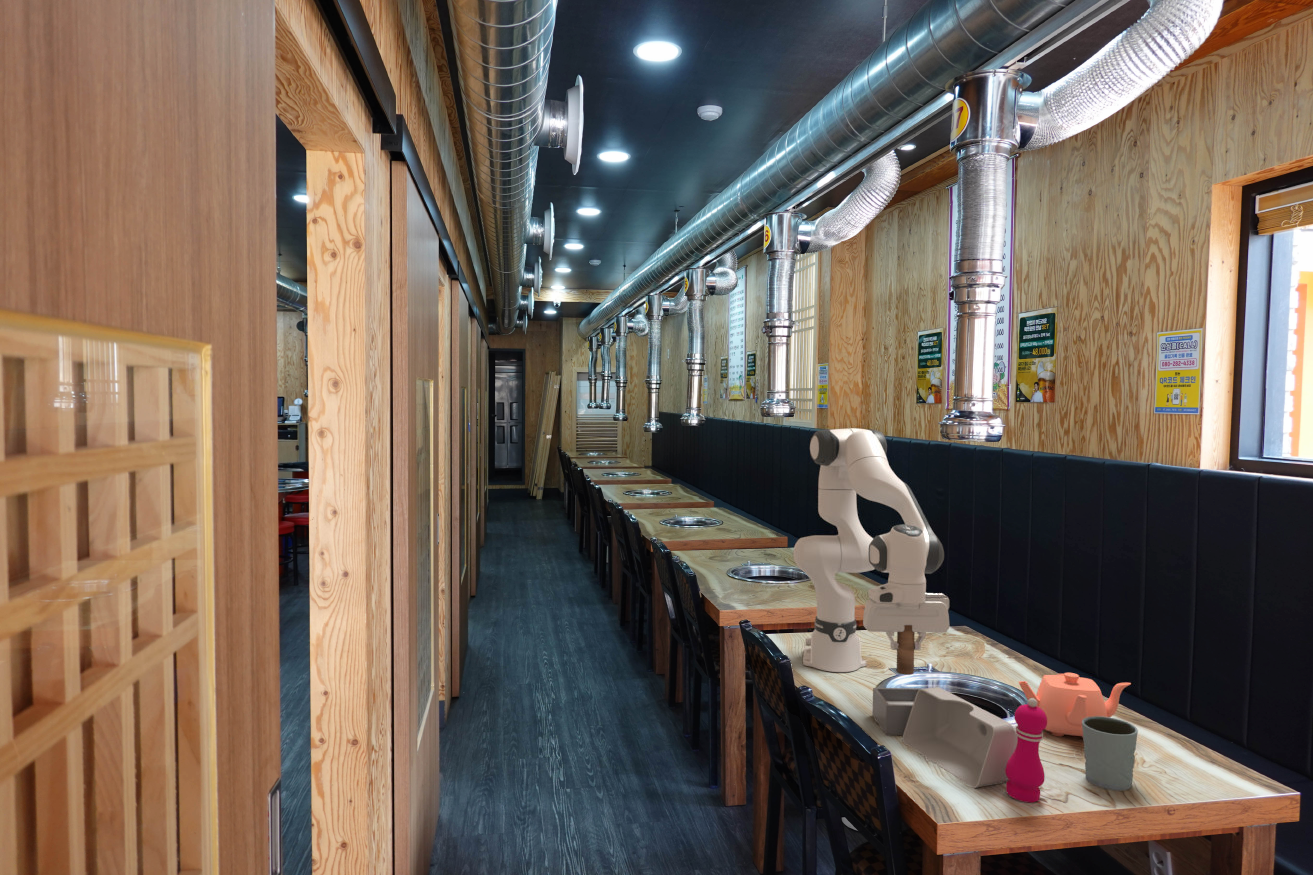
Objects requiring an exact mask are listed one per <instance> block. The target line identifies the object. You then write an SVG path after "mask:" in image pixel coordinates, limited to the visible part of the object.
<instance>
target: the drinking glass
mask: <svg viewBox="0 0 1313 875" xmlns="http://www.w3.org/2000/svg"><path fill="white" fill-rule="evenodd" d="M1082 729H1083V738H1082V739H1083V744H1084V746H1083V751H1084V754H1083V755H1084V759H1085V762H1084V766H1085V767H1084V769H1085V771H1084V772H1085V779H1086V780H1087V781H1088V783H1091V784H1092V785H1094V786H1096V787H1099V788H1102V789H1105V790H1110V791H1119V792H1120V791H1123V792H1124V791H1127V790H1129V789H1132V787H1133V777H1134V774H1133V773H1134V767H1135V758H1136V757H1135V752H1136V749H1137V740H1138V731H1139V730H1138V728H1137V727H1136V726H1135V725H1134V724H1132V723H1130V722H1128V721H1127V720H1126V721H1125V720H1122V719H1119V718H1114V717H1103V716H1092V717H1087V718H1084V719H1083V720H1082Z"/></svg>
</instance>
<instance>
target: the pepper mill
mask: <svg viewBox="0 0 1313 875" xmlns="http://www.w3.org/2000/svg"><path fill="white" fill-rule="evenodd" d="M1013 719H1014V721H1015V723H1016V725H1017V726H1015V731H1016V732H1015V733H1016V735H1017V737H1018V741H1017V746H1016V749H1015V751H1014V753H1013V754H1012V756H1011V757H1010V758H1009V760H1008V762H1007V764H1006V769H1005V773H1006V776H1007V777H1008V779H1009V780H1008V781H1007V782H1005V784H1006V785H1005V791H1006V793H1007V795H1008V796H1009V797H1011V798H1013V799H1015V800H1017V801H1020V802H1024V803H1037V802H1039V801H1040V798H1041V789H1040V787H1041V786H1042V785H1043V784H1044V782H1045V770H1044V766H1043V764H1042V761H1041V757H1040V752H1039V751H1040V750H1039V748H1040V742H1041V741H1043V738H1044V737H1043V736H1044V732H1043V731H1044V730H1045V728H1046V726H1047V716H1046V714H1045V712H1044V711H1043V710H1042V709H1041V708H1039V707H1037V700H1036V699H1034V698H1030V699H1029V700H1028V699H1027V704H1025V703H1024V704H1021V705H1019V706H1017V708H1016V710H1015V712H1014V718H1013ZM1036 801H1037V802H1036Z"/></svg>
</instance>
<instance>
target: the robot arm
mask: <svg viewBox="0 0 1313 875" xmlns="http://www.w3.org/2000/svg"><path fill="white" fill-rule="evenodd" d="M809 451H810V452H809V453H810V457H811V459H812V460H813V461H814V463H815V464H817V465H820V468H819V473H818V474H819V475H818V485H817V486H818V492H817V493H818V496H817V498H818V500H817V501H818V503H817V505H818V506H817V508H818V509H817V510H818V514H819V517H820V518H822V519H823V520H824V521H826V522H827V523H829V524H831V525H832V526H835V527H836V528H837V532H838V534H836V535H829V534H828V535H826V534H825V535H824V534H823V535H820V534H819V535H816V534H815V535H809V536H804V537H800V538H799V539H797V541H796V542H795V545H794V547H793V552H792V554H793V555H792V556H793V560H794V563H795V565H796V566H797V567H798V569H800V570H801V571H803V573H804V574H806V576H807V577H808V578H809V580H810V581H811V583H812V585H813V587H814V590H815V596H816V616H815V619H814V630H813V631H812V632H811V634H810V637H806V638H805V647H804V648H803V652H802V653H803V656H802V665H804V666H807V667H811V668H812V667H813V668H814V669H818V670H821V671H825V672H833V673H849V672H853V671H856V670H859V669H860V668H863V667H866V666H867V661H865V660H864V659H863V658H862V642H861V638H860V636H859V635H857V633H856V632H857V631H856V630H857V619H856V618H855V615H856V614H855V612H856V611H855V608H856V596H855V593H854V591H853V590H852V589H851V588H850V587H848V586H847V585H845V584H843V583H841V582H839V581H837V580H836V574H838V573H842V574H843V573H847V574H849V573H853V574H857V573H859V574H860V573H864V572H870V571H873V570H876V571H877V572H881V573H888V579H887V582H886V583H885V584H881V585H877V586H874V587H871V588H869V589H868V592H867V594H868V597H869V599H867V600H866V603H865V605H864V609H863V620H862V622H863V623H862V624H863V627H864V628H865V629H866V630H867V631H868V632H871V633H873V632H877V633H878V632H879V633H885V635H886V636H887V638H888V640H889V641H890V649H891V650H892V651H895V650H896V651H897V650H898V649H899V648H898V646H899V643H898V642H897V640H895V639H894V638H893V637H895V633H897V632H903V631H904V625H912V631H913V632H915V633H916V634H917V635H918V636H917V638H916V640H914V651H921V649H922V643H923V641H925V638H926V635H927V633H947V632H948V631H949V629H950V616H949V609H950V599H949V597H948V596H947V595H945V594H944V593H942V592H941V593H940V592H939V593H938V592H937V593H934V592H927V591H926V590H927V579H926V576H925V574H927V575H928V574H929V575H931V574H933V573H935V572H936V571H937V570H938V569H939V568H940V567H941V566H942V564H943V562H944V559H945V551H944V546H943V544H942V542H941V541H940V539H939V537H938V536H937V535H936V534H935V533H934V531H933V530H932V528H931V526H930V524H929V521H928V519H927V518H926V516H925V514H924V512H923V510H922V508H921V506H920V504H919V503H918V500H917V498H916V497H915V495H914V493H913V490H912V489H911V487H910V486H909V485H908V484H907V483H906V482H904V481H903V480H902V479H900V478H899V477H898V476H897V475H896V474H895V472H894V470H892V468H891V466H890V465H889V461H888V458H887V453H888V452H887V451H888V444H887V438H886V437H885V435H884V434H883V432H881V431H880V430H877V429H871V428H868V429H864V428H857V427H856V428H854V427H853V428H852V427H847V428H836V429H835V428H834V429H828V428H826V429H825V428H824V429H820V430H817V431H815V432H814V433H813V435H812V436H811V438H810V444H809ZM857 495H859V496H860V497H862V498H864V499H866V500H868V501H870V502H871V501H872V502H876V503H879V504H882V505H885V506H887V507H890V508H892V509H894V510H895V511H896V512H898V513H899V515H900V516H901V519H902V520H903V522H904V524H896V525H894V526H892V528H891V529H890V531H889V532H887V533H883V534H880V535H875V537H872V536H871V535H869V534H868V532H866V531H865V529H864V528H863V526H862V524H861V522H860V519H859V516H858V508H857V507H858V506H857Z"/></svg>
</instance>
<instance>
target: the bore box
mask: <svg viewBox="0 0 1313 875" xmlns="http://www.w3.org/2000/svg"><path fill="white" fill-rule="evenodd" d="M920 689H922V688H919V687H918V688H917V687H914V688H913V687H912V688H911V687H872V711H871V712H872V717H873V718H874V720H875V721H876V722H877V724H878V726H879V727H880V729H881V730H882V731H883V733H884V734H885V736H887V735H888V736H890V735H891V736H894V735H897V736H903V735H904V731H905V728H906V725H907V722H908V719H909V716H910V713H911V710H912V707H913V703H914V700H915V697H916V694H917V692H918V691H919V690H920Z"/></svg>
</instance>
